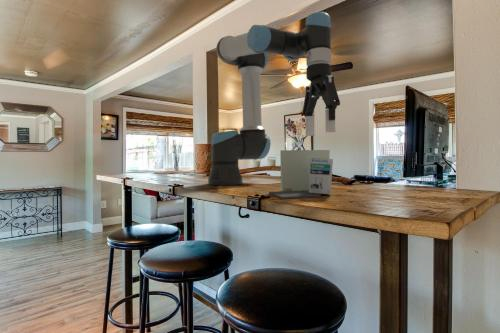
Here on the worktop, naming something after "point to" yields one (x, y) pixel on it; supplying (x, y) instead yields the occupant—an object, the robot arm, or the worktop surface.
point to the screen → (298, 168)
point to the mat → (294, 194)
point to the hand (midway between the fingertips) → (319, 134)
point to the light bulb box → (320, 175)
